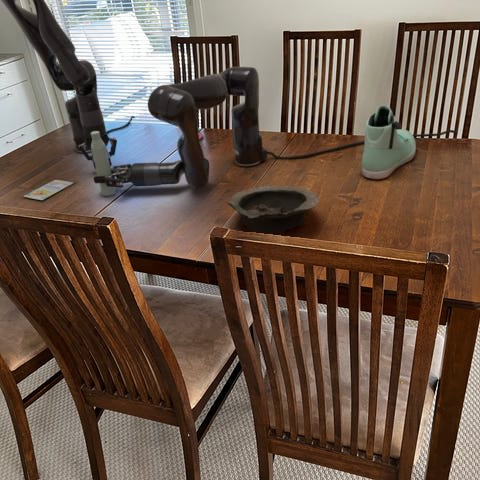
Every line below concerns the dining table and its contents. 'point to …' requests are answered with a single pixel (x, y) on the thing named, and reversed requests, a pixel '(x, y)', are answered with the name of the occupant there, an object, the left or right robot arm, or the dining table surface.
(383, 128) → the sneaker
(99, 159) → the bottle
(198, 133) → the candy cane
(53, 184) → the baking ingredient package
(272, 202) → the stone bowl
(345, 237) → the dining table surface
